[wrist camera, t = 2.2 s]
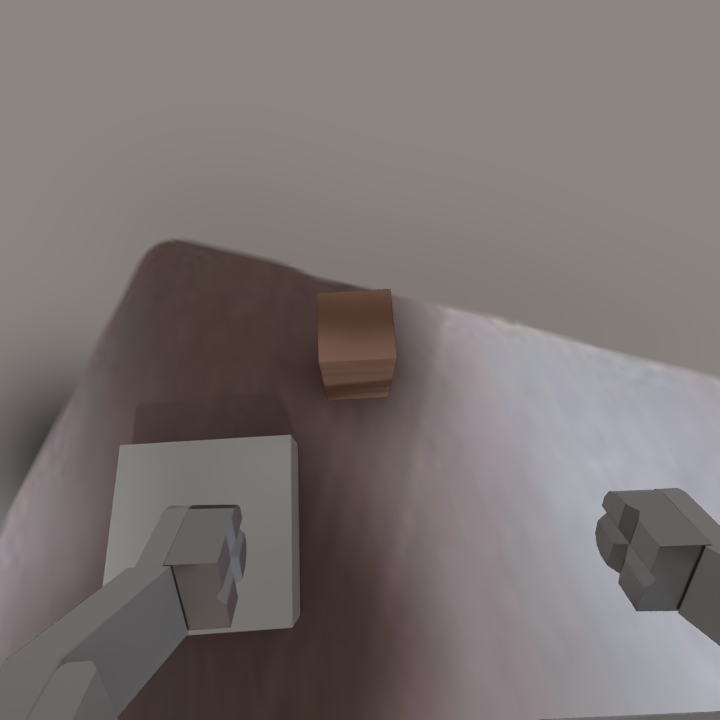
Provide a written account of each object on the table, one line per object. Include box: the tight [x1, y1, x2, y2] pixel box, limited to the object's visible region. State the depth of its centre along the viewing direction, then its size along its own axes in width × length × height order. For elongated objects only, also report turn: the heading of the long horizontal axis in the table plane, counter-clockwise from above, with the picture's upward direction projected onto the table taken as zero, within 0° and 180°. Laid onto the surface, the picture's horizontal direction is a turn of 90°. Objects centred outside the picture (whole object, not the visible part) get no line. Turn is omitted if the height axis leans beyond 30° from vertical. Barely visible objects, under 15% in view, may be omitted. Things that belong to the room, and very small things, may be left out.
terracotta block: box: [316, 289, 397, 400], centre depth 34 cm, size 5×5×9 cm
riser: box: [102, 435, 300, 635], centre depth 31 cm, size 12×12×4 cm
